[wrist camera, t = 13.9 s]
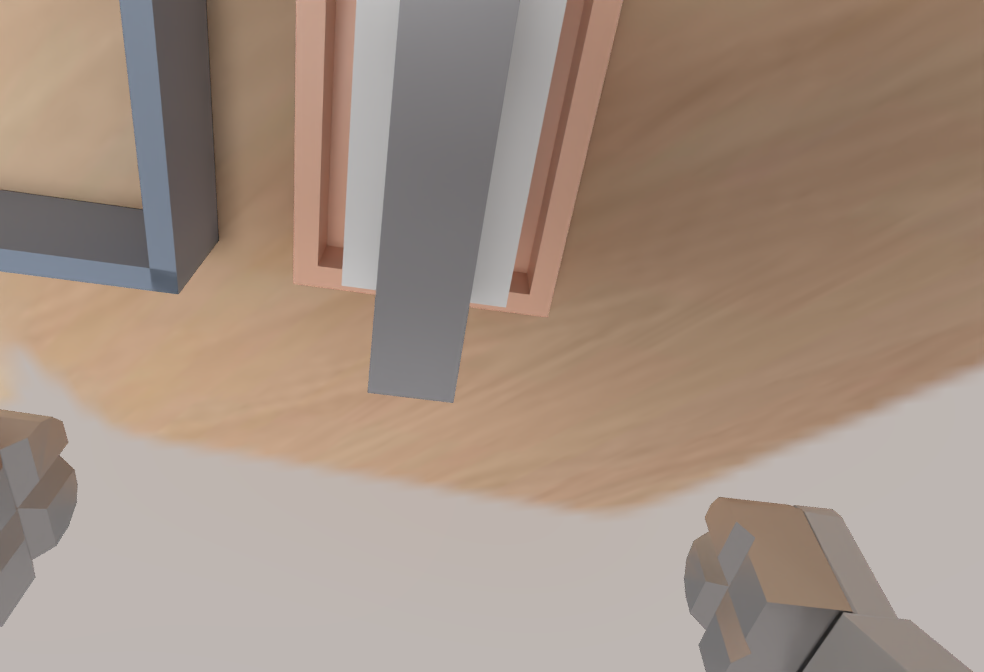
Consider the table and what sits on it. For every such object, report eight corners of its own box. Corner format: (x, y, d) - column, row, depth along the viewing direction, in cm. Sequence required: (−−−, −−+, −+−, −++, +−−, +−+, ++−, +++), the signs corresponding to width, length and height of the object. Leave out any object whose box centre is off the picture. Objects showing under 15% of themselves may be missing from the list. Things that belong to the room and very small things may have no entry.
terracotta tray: (640, -144, 24) (658, -148, 22) (542, 285, 33) (547, 317, 31) (318, -209, 23) (298, -221, 21) (308, 252, 32) (293, 283, 30)
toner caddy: (559, -73, 24) (614, -47, 14) (501, 238, 31) (512, 409, 21) (387, -105, 24) (318, -101, 14) (364, 219, 30) (306, 385, 20)
